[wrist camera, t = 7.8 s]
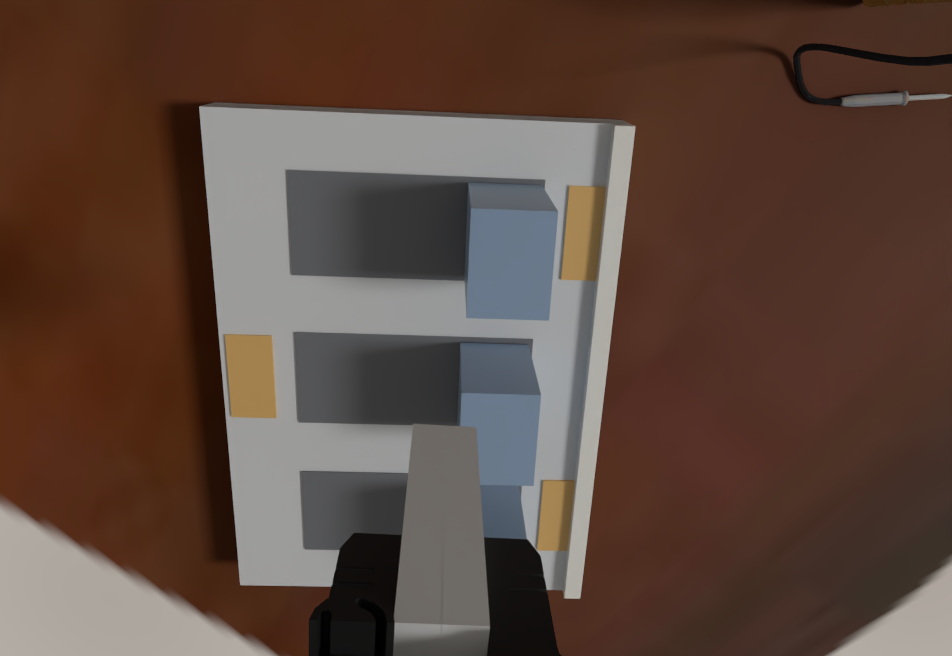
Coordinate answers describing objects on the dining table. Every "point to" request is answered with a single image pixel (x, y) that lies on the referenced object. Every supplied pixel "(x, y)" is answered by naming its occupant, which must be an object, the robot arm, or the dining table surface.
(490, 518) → the tab
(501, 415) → the tab
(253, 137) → the switch bank
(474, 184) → the tab
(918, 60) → the multimeter
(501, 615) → the robot arm
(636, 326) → the dining table surface
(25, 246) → the dining table surface
